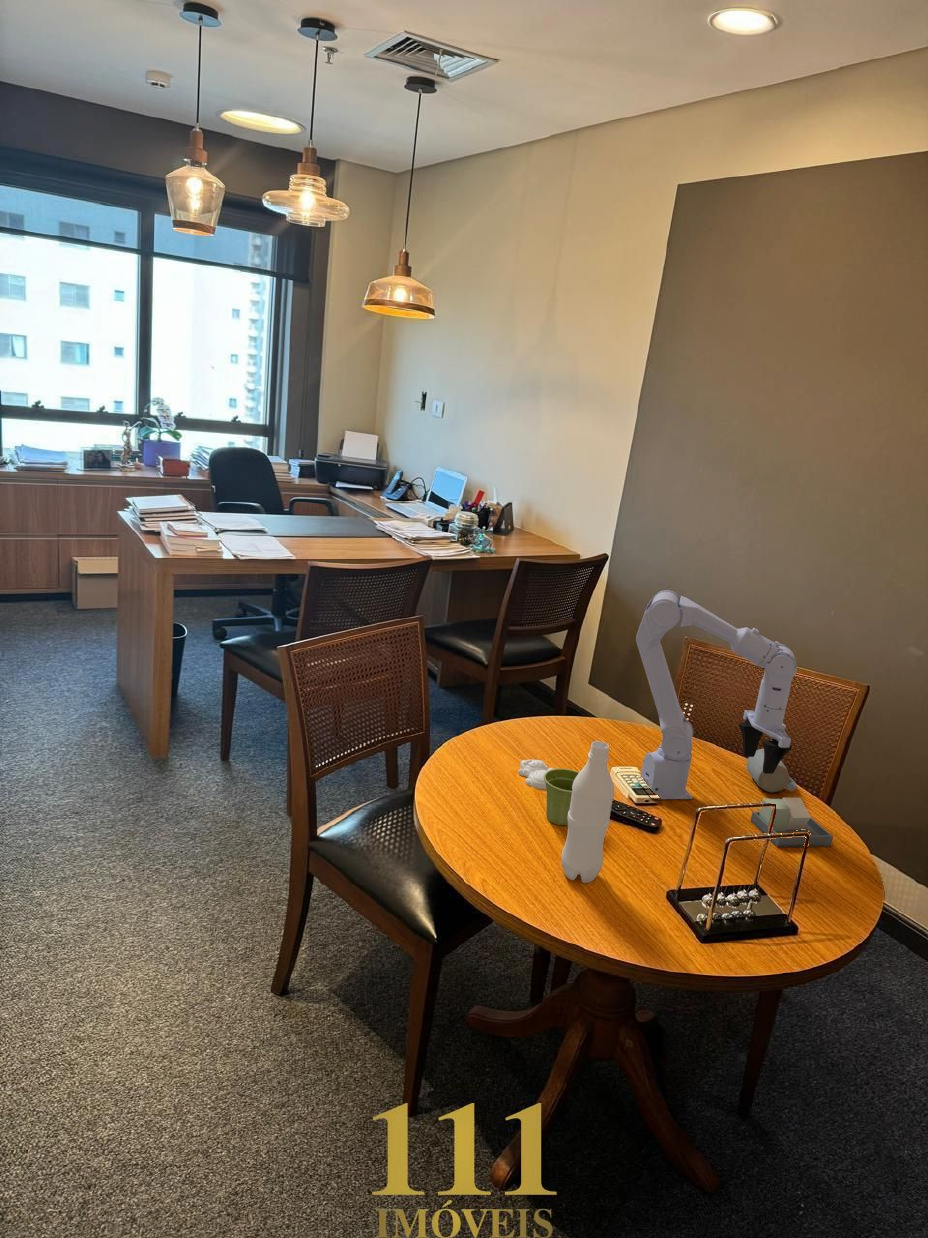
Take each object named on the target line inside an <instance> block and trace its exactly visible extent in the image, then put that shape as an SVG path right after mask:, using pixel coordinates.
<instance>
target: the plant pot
mask: <svg viewBox="0 0 928 1238" xmlns="http://www.w3.org/2000/svg"><path fill="white" fill-rule="evenodd" d="M579 772H580V771H577V770H574V769H569V768H553V770H549V771H547V772H546V773H545V775H544V780H545V782H546V788H547V790H546V809H545V810H546V813H545V814H546V818H547V820H548V821H549V822H550V823H552V824H553V825H554V824H555V825H557V826H566V827H568V812H569V810H570V803H571V796H572V785H573V782H574V780H575V778H576V776H577V775H578V774H579Z"/></svg>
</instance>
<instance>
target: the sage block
mask: <svg viewBox="0 0 928 1238" xmlns="http://www.w3.org/2000/svg"><path fill="white" fill-rule="evenodd" d="M764 803H771V804H776V815H775V819H774V823H773V830H775V831H786V827H787V822H788V818H789V814H790V810H791V809H790V808H789V807H788V806H787V805H786V804H785V803H784V802H783V801H782V798H762V801H761V804H764ZM759 811H760V813H759V816H760V817H761V818H762V819H763V820H764V821H765V822H766V823H767V824H768V825H769V824H770V820H771V816H772V812H773V808H772V807H762V808H761V807H760V808H759Z"/></svg>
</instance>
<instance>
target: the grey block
mask: <svg viewBox="0 0 928 1238" xmlns="http://www.w3.org/2000/svg"><path fill="white" fill-rule="evenodd" d="M781 800H782V801H783V802H784V803H785V804H786V805H787V806H788V807H789V808H790V809H791V810H790V814H789V818H788V822H787V827H786V830H801V829H804V827H805V826H806V824H807V823H808V821H809V820H810V818H811V817H812V816H811V815H810V813H809V811H808V809H807V807H806V805H805V804H804V802H803V800H802V798H801V797H782V798H781Z"/></svg>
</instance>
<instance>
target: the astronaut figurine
mask: <svg viewBox="0 0 928 1238" xmlns="http://www.w3.org/2000/svg"><path fill="white" fill-rule="evenodd" d="M519 764H520V765H519V766H520V769H518V770H517V774H518V775H519V776H523V777H527V778H525V780H524V783H525V784H526V786H529V787H532V788H535V789H537V790H544V791H547V788H546V782H545V780H544V775H545V773H546V772H547V771H549V770H553V769H554V768H552V767H548V766H547V765H546V763H545V761H543V760H540V759H539V760H538V759H527V760H525V759H522V760H521V761H520V762H519Z"/></svg>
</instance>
